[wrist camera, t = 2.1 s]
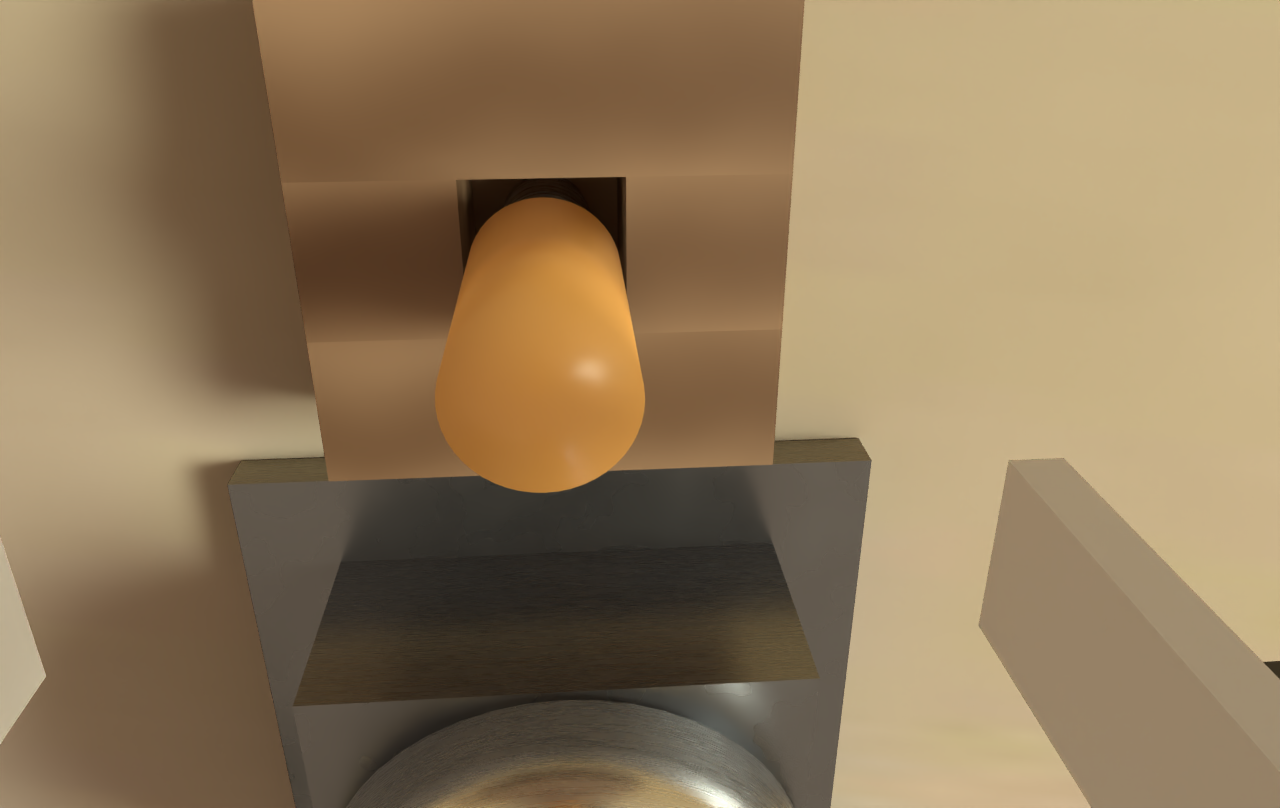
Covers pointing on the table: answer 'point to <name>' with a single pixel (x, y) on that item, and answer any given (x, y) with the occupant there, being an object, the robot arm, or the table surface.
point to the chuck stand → (555, 604)
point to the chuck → (573, 763)
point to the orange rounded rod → (541, 347)
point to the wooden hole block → (536, 148)
